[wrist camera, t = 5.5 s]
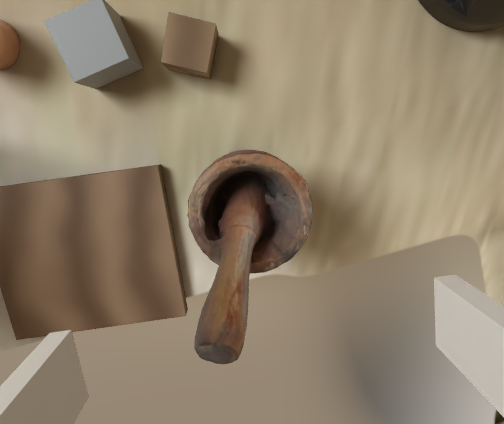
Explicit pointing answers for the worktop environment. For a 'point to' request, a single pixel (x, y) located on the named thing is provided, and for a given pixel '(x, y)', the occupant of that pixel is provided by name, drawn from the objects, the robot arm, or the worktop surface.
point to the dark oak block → (189, 45)
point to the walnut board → (88, 252)
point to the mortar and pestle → (243, 238)
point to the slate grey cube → (94, 44)
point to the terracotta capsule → (8, 45)
